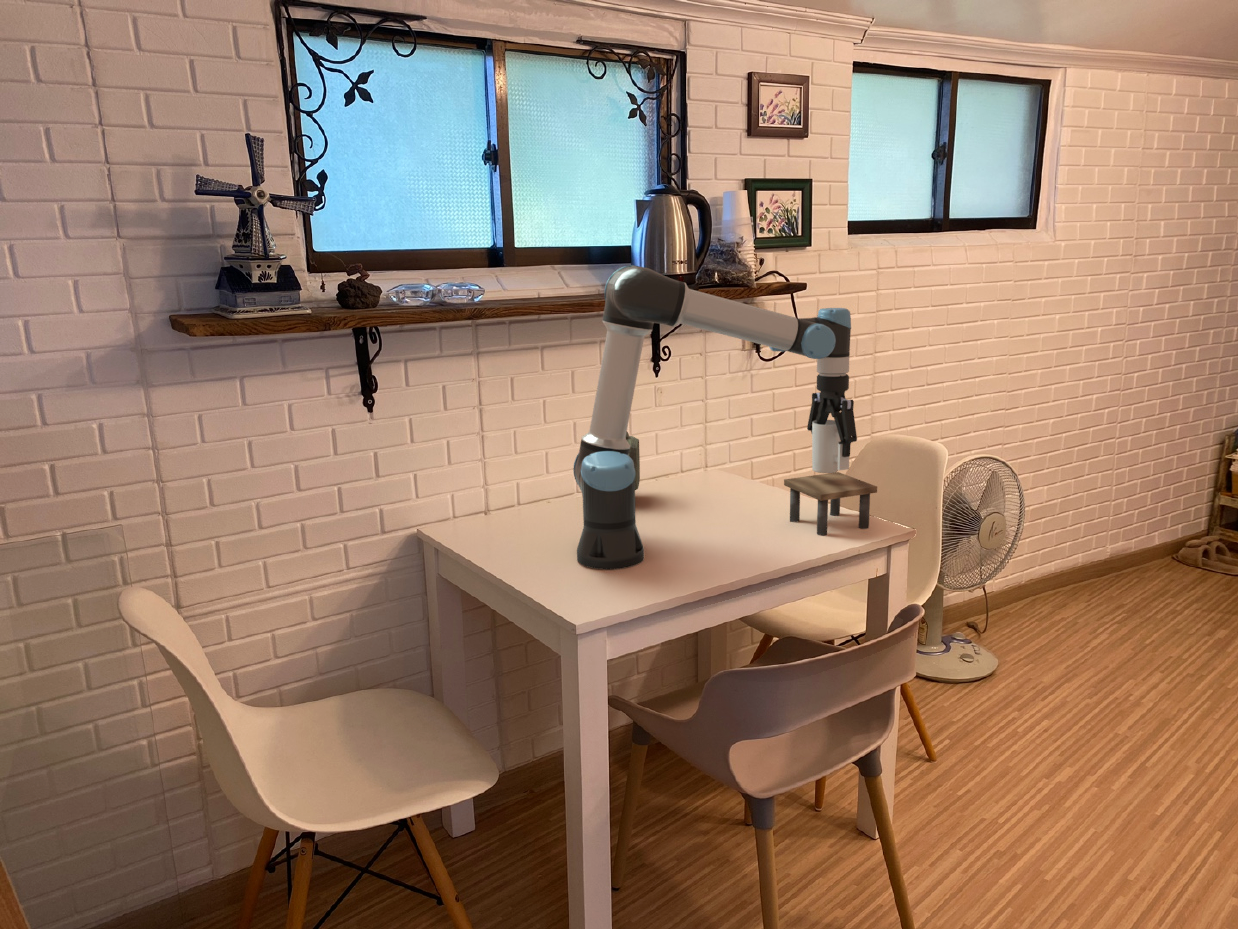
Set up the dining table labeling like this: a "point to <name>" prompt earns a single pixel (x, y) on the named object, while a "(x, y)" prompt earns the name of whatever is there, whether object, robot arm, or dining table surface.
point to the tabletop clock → (634, 457)
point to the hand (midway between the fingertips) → (830, 464)
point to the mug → (825, 447)
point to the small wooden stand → (829, 496)
